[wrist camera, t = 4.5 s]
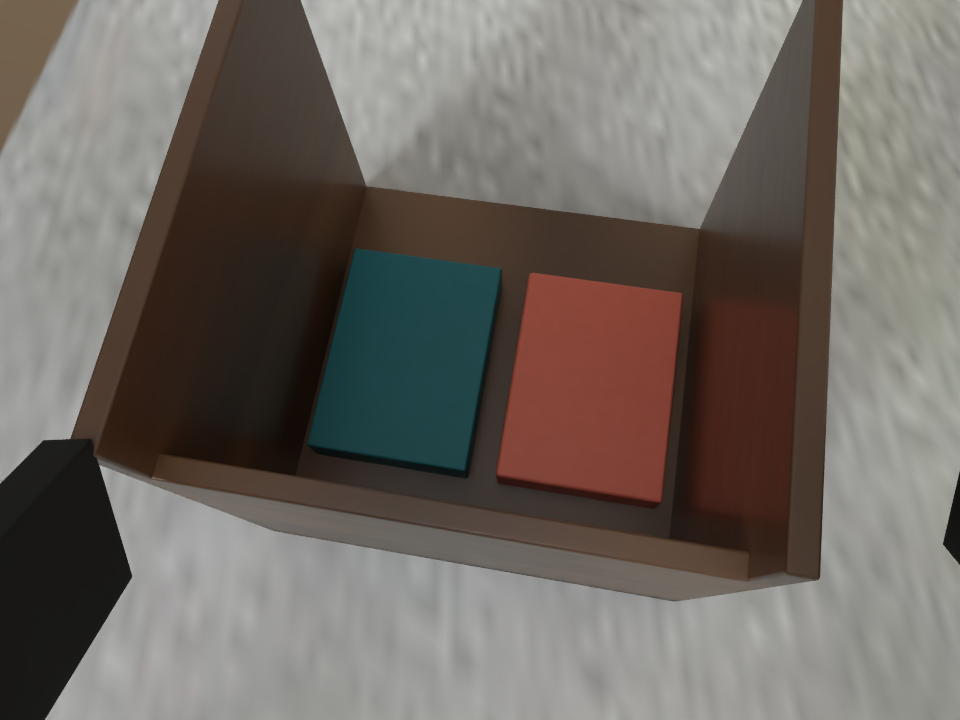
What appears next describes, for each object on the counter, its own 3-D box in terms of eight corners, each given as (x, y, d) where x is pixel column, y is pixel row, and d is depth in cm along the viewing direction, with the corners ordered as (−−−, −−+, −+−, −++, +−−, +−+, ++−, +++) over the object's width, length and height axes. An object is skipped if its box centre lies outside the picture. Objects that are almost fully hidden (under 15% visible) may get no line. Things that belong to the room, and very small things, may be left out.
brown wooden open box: (273, 530, 23) (64, 452, 12) (356, 196, 26) (247, -88, 16) (677, 601, 22) (821, 580, 11) (710, 241, 25) (845, -32, 15)
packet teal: (316, 453, 23) (305, 445, 22) (361, 264, 24) (354, 247, 23) (468, 479, 22) (465, 471, 21) (502, 284, 24) (502, 267, 23)
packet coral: (496, 483, 22) (495, 476, 21) (529, 287, 24) (529, 270, 23) (655, 509, 22) (662, 503, 21) (676, 307, 23) (684, 292, 22)
